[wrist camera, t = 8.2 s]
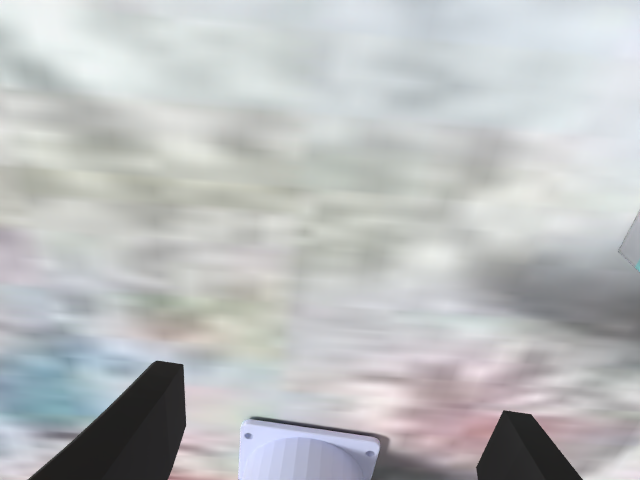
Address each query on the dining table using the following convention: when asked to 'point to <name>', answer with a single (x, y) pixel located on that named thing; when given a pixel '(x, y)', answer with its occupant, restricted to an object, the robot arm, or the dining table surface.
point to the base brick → (632, 244)
